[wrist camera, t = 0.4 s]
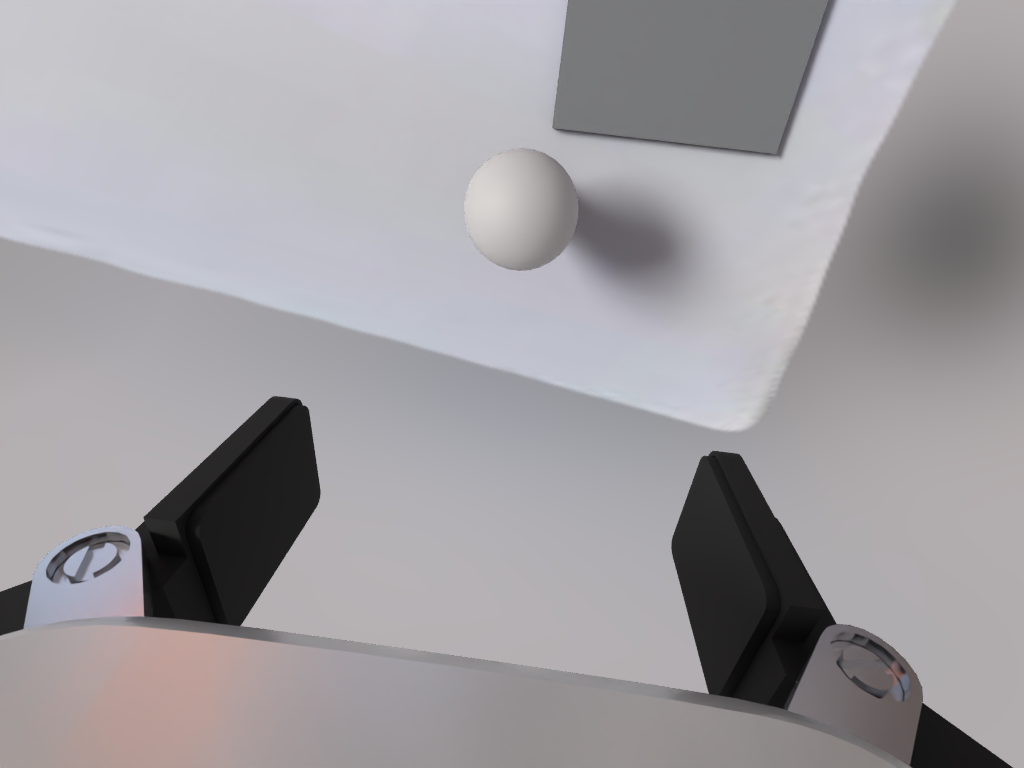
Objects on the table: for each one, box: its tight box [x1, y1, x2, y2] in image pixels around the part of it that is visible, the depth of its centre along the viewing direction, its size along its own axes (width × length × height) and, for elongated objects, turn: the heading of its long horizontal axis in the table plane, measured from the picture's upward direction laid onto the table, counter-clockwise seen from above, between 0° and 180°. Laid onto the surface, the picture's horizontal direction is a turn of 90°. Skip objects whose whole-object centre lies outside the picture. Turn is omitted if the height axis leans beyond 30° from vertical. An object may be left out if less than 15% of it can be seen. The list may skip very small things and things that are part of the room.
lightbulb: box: [464, 148, 579, 271], centre depth 27 cm, size 6×6×11 cm
